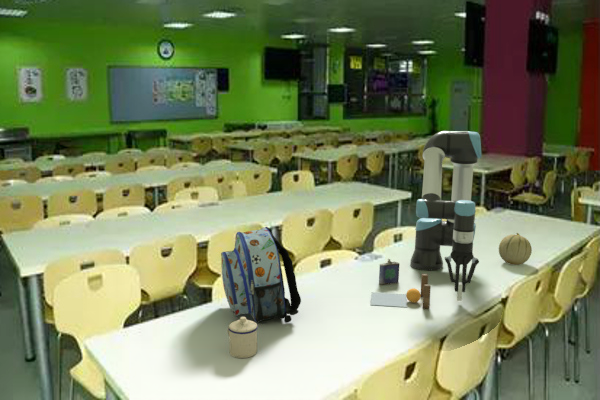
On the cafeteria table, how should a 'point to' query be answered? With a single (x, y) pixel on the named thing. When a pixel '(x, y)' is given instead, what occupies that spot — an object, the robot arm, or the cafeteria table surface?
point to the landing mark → (388, 299)
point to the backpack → (259, 277)
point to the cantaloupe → (515, 249)
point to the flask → (389, 273)
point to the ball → (413, 295)
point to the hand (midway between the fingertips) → (459, 299)
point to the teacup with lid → (243, 338)
